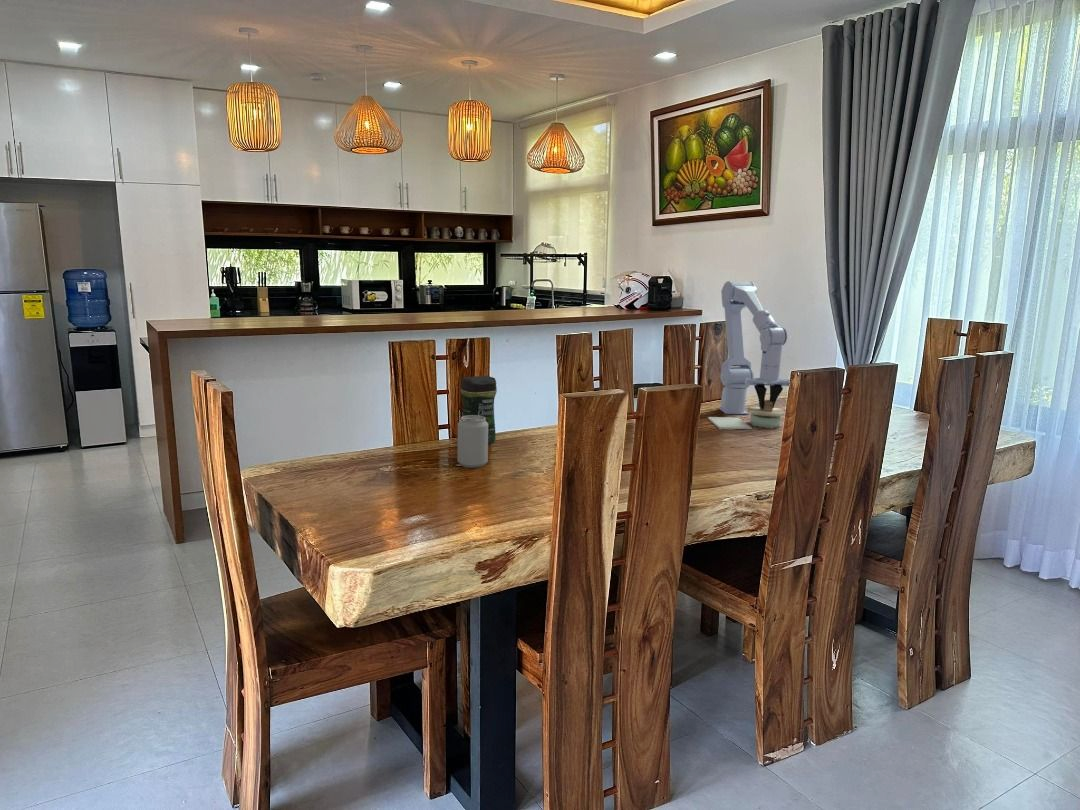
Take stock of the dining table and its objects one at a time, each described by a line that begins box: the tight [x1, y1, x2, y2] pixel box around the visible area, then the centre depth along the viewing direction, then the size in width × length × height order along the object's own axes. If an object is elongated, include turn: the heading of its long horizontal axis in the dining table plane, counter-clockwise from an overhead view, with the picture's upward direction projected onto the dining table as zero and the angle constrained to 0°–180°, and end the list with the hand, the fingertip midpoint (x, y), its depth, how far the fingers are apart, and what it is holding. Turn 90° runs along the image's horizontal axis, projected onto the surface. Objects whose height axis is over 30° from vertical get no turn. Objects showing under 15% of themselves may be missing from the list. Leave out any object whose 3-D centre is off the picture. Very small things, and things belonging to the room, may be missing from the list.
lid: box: [747, 399, 785, 417], centre depth 232 cm, size 11×11×4 cm
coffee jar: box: [460, 375, 498, 445], centre depth 200 cm, size 10×8×19 cm
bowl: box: [749, 413, 781, 428], centre depth 233 cm, size 9×9×3 cm
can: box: [457, 415, 489, 469], centre depth 181 cm, size 8×8×12 cm
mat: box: [707, 416, 753, 430], centre depth 232 cm, size 14×10×1 cm
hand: (766, 408), depth 232 cm, fingers closed on lid, 2 cm apart
